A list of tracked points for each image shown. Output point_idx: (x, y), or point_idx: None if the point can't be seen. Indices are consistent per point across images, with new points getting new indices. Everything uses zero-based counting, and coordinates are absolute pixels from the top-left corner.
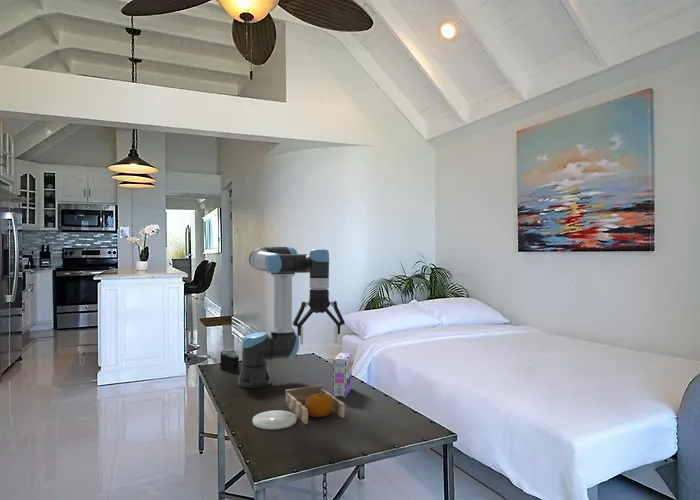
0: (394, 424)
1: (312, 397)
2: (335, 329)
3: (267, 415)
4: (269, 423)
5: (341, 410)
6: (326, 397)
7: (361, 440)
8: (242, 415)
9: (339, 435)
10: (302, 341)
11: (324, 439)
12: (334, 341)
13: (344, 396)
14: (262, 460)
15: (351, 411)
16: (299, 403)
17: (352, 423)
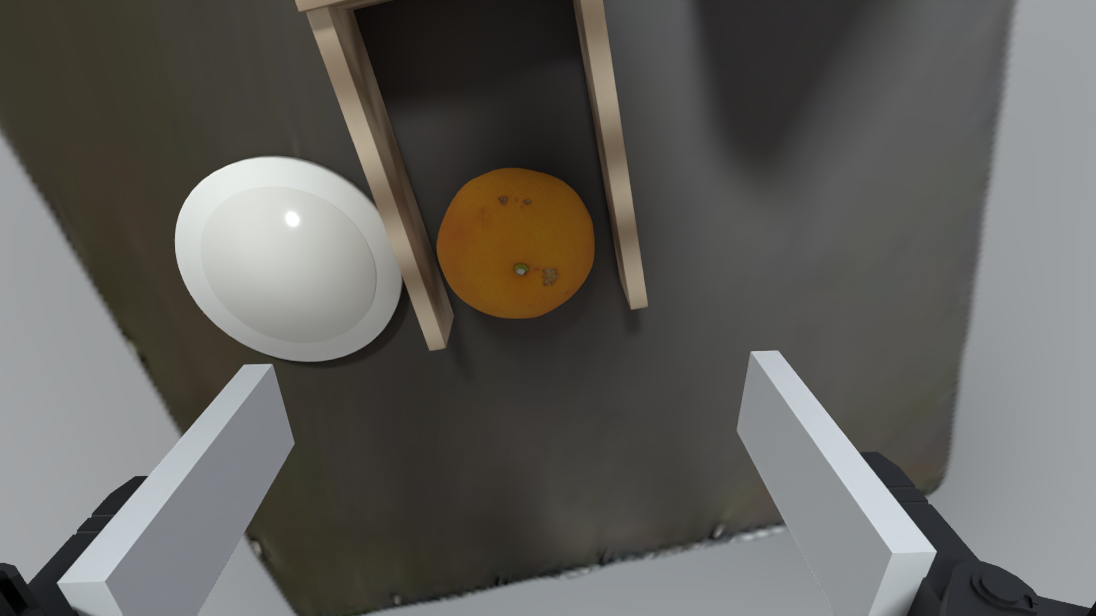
0: (808, 388)
1: (473, 287)
2: (829, 574)
3: (245, 235)
4: (274, 336)
5: (625, 293)
6: (557, 284)
7: (626, 486)
8: (98, 145)
9: (563, 442)
10: (269, 474)
11: (502, 462)
12: (752, 369)
13: None
14: (300, 552)
15: (695, 205)
16: (403, 253)
17: (647, 349)
